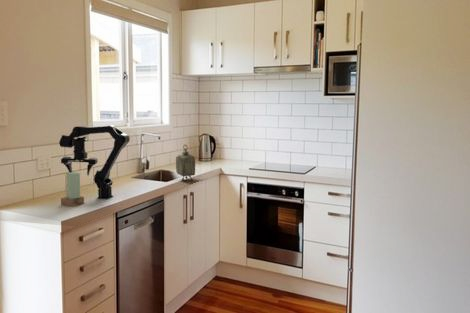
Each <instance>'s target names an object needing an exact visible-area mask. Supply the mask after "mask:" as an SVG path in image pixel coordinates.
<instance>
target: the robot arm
mask: <svg viewBox="0 0 470 313" xmlns="http://www.w3.org/2000/svg"><path fill="white" fill-rule="evenodd" d="M106 133H108V134H109V135H110V136H111V137H112V138H113V139H114V141H113V148H112V150H111V151H110V153H109V155H108V157H107V159H106V161H105V163H104V165H103V166H102V168H100V169H97V170H96V171H95V174H94V175H93V181H94V183H95V185H96V186H97V188H98V190H97V195H98V197H97V199H105V200H107V199H110V198H112V197H114V195H113V194H112V192H113V191H112V186H113V184H114V183H113V181H112V179H111V178H110V176H111V170H112V168H114V167H113V166H114V164H115V163H116V161H117V159H118V158H119V155H120V153H121V152H122V150H124V148H125V147H126V146H127V144H128V143H129V142H130V136H129V135H128V134H126V133H125V132H123V131H122V130H120V129H118V128H117V127H116V126H115V125H114V124H113V125H104V126H92V127H91V126H86V125H78V126H77V125H76V126H74V127H73V128H72V131H71V132H70V134H69V135H66V134H63V135H62V134H61V138H60V139H59V143H58V144H59V146H60V148H69V149H72V148H73V158H72V156H64V157H62V158H61V159H60V163H61V164H63V165H64V166H65V167H66V168H67V170H68V173H70V172H73V167H72V164H73V163H88V164H87V167H86V169H87V171H86V172H87V173H86V174H87V177H88V176H89V175H90V172H91V169H92V167H93V166H95V165H96V164H98V158H97V157H90V158H88V154H89V153H88V152H86V145H85V144H86V143H85V142H88V141H89V138H88V137H87V136H88V135H93V134H106Z"/></svg>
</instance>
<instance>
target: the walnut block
mask: <svg viewBox="0 0 470 313" xmlns="http://www.w3.org/2000/svg"><path fill="white" fill-rule="evenodd" d="M84 204H85V196H81V195H80V198H74V199H70V198H67V197H66V196H64V197H61V198H60V205H61V206H65V207H68V208H69V207H70V208H72V207H76V206H80V205H84Z"/></svg>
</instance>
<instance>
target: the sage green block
mask: <svg viewBox="0 0 470 313" xmlns="http://www.w3.org/2000/svg"><path fill="white" fill-rule="evenodd" d="M65 179H66V180H65V182H66V186H65V188H66V190H65V191H66V193H65V194H66V196H65V197H67V198H70V199H74V198H80V196H81V173H80V172H78V171H74V172H73V171H72V172H65Z"/></svg>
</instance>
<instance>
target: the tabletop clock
mask: <svg viewBox="0 0 470 313" xmlns="http://www.w3.org/2000/svg"><path fill="white" fill-rule="evenodd" d="M185 147H186V148H185ZM182 148H183V150H184V151H182V153H181V154H179V155H177V156H176V157H175V171H176V174H177V175H180V176H181V177H182V178H181V181H184V180H185V179H186V178H187V179H188V177H189V179H190V181H191V182H193V181H194V179H193V178H192V176H195V175H196V159H195V155H193V154H190V152H189V151H188V145H187V144H183V146H182Z"/></svg>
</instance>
